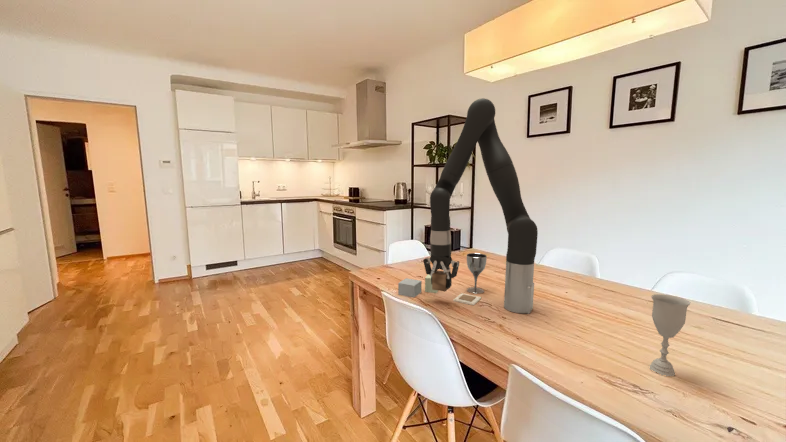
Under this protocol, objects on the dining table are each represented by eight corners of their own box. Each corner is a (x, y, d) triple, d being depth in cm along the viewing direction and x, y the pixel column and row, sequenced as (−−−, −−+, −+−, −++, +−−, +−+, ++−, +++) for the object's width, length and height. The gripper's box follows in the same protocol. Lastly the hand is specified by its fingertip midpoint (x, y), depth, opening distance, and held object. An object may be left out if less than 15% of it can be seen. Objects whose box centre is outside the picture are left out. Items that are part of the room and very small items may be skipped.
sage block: (439, 289, 136) (439, 275, 135) (436, 293, 131) (437, 279, 130) (427, 288, 137) (427, 274, 136) (424, 291, 132) (425, 277, 132)
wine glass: (483, 287, 138) (484, 253, 136) (486, 294, 130) (488, 257, 128) (464, 286, 138) (465, 252, 136) (466, 293, 131) (468, 257, 129)
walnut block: (450, 287, 121) (450, 272, 120) (444, 291, 117) (444, 275, 116) (438, 285, 124) (437, 270, 123) (432, 289, 120) (432, 273, 119)
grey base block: (421, 292, 132) (421, 280, 131) (414, 298, 126) (414, 285, 125) (406, 289, 135) (406, 278, 135) (398, 294, 129) (398, 282, 129)
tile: (480, 298, 125) (481, 296, 125) (473, 305, 118) (473, 303, 118) (461, 294, 129) (461, 292, 129) (453, 300, 122) (453, 298, 122)
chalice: (664, 362, 82) (672, 294, 79) (690, 378, 75) (699, 304, 73) (636, 362, 81) (643, 294, 79) (659, 379, 75) (668, 305, 72)
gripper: (463, 241, 117) (463, 286, 119) (427, 239, 125) (428, 281, 127) (455, 245, 111) (455, 293, 113) (418, 242, 119) (419, 286, 121)
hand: (441, 286), depth 120 cm, fingers closed on walnut block, 5 cm apart
